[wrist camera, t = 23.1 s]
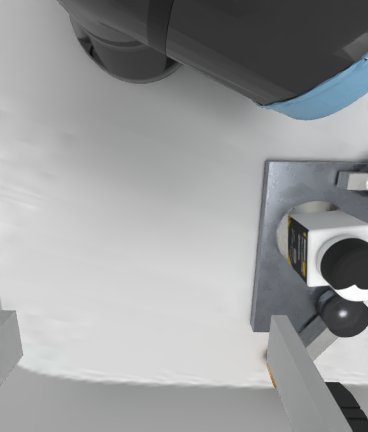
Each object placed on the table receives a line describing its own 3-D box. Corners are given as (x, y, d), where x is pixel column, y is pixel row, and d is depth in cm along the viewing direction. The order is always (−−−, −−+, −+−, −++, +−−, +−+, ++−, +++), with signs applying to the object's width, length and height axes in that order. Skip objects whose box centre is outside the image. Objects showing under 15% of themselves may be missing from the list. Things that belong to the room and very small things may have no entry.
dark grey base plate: (265, 160, 38) (270, 162, 36) (382, 162, 38) (394, 164, 36) (250, 323, 45) (253, 333, 43) (349, 325, 45) (357, 335, 43)
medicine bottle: (286, 214, 38) (331, 247, 26) (340, 209, 38) (408, 240, 26) (286, 262, 40) (328, 313, 28) (337, 257, 40) (400, 307, 28)
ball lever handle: (336, 280, 41) (348, 292, 38) (365, 302, 42) (379, 315, 38) (255, 361, 45) (260, 378, 41) (283, 379, 46) (290, 397, 42)
